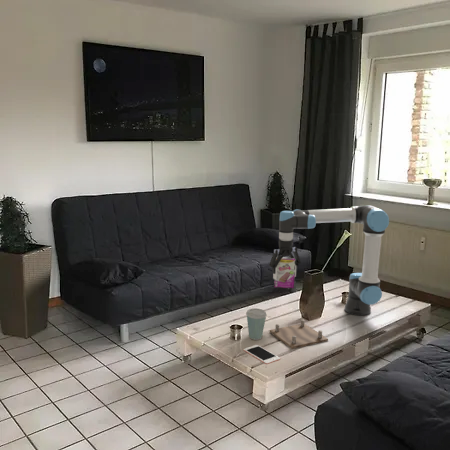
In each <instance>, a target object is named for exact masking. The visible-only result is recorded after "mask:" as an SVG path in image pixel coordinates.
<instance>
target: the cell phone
mask: <svg viewBox="0 0 450 450" xmlns="http://www.w3.org/2000/svg"><path fill="white" fill-rule="evenodd" d="M243 351H244V352H246V353H247V354H249V355H251V356H252V357H254V358H256V359H257V360H258V361H260V362H262V363H263V364H265V365H268V364H272V363H275V362H277V361H280V360H281V357H279V356H278V355H276V354H274V353H273V352H271V351H269V350H267V349H265V348H263V347H262V346H260V345H258V344H254V345H251V346H249V347H248V346H247V347H245V348H243Z"/></svg>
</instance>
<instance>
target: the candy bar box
mask: <svg viewBox="0 0 450 450" xmlns="http://www.w3.org/2000/svg"><path fill="white" fill-rule="evenodd" d="M276 260H277V259H276ZM276 260H275V261H276ZM295 260H296V259H295V257H294V258H290V257H288V256H285V257H284V256H283V258H282V259H281V260H280V262H279V263H278V265H277V267H276V268H277V280H275V279H273V280H274V281H273V287H274V288H281V289H294V288H295V280H296V279H295Z"/></svg>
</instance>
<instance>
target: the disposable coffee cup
mask: <svg viewBox="0 0 450 450" xmlns="http://www.w3.org/2000/svg"><path fill="white" fill-rule="evenodd" d="M245 314H246V321H247V331H248V337H249V339H251V340H253V341H254V340H255V341H256V340H257V341H258V340H261V338H262V337H263V334H264V329H265V324H266V319H267V316H268V314H267V312H266V310H264V309H261V308H248V310H247V311H246V313H245Z"/></svg>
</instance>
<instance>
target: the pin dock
mask: <svg viewBox="0 0 450 450" xmlns="http://www.w3.org/2000/svg"><path fill="white" fill-rule="evenodd" d="M269 333H270V334H272V336H274V337H275V338H277V339H278V340H279V341H281V342H282V343H283V344H285V345H286V346H287V347H288V348H290V349H292V350H293V349H297V348H302V347H307V346H312V345H315V344H316V345H317V344H321V343H326V342H329V338H328V337H326V336H324V335H323V331H322V330H318V331H316V330H315V329H314V328H312V327H310V326H309V325H307V324H306V323H305V319H300V323H299V324H294V325H288V326H283V327H280V324H278V323H276V324H275V328H273V329H270V330H269Z"/></svg>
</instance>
